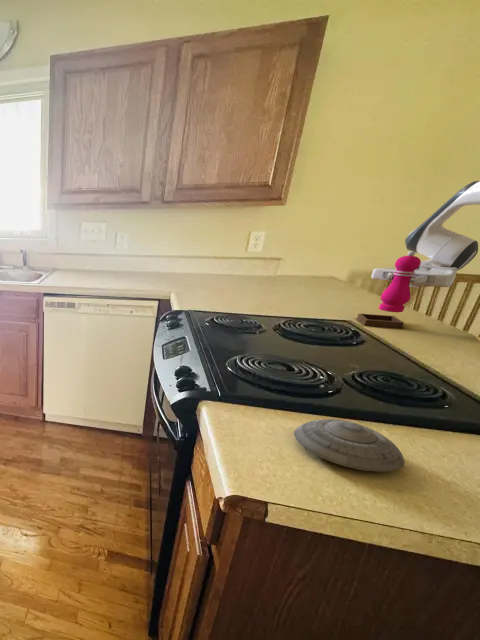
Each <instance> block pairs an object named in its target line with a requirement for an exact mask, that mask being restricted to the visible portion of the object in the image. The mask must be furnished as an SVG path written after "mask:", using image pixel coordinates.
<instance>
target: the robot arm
mask: <svg viewBox="0 0 480 640" xmlns="http://www.w3.org/2000/svg"><path fill="white" fill-rule="evenodd" d="M473 205H477V206H478V205H480V180H474V181H472V182H470V183H468V184H467V185H465V186H464V187H462V188H461V189H459V190H458V191H457V192H456V193H454V195H452V196H451V197H450V198H449V199H448V200H447V201H445V203H443V204H442V205H441V206H440V207H439V208H437V210H436V211H434V212H433V213H432V214H431V215H430V216H429V217H428V218H427V219H426V220H424V221H423V222H422V223H421V224H419V226H417V227H416V228H414V229H413V230H412V231H411V232H410V233H409V234H407V236H406V237H405V239H404V244H405V248H406V250H407V251H414V252H415V254H420V255H421V256H424V257H426V258H428V259H425V260H420V261H421V264H420V266H419V267H418V268H417V269H416V270H414V271H415V273H414V276H412V277H411V279H410V283H409V288H410V287H411V288H415V289H416V288H417V289H418V288H429V287H430V288H431V287H434V288H435V287H436V288H450V287H452V285H453V283H454V281H455V280H456V277H457V273H458V271H460V270H462V269H463V268H464V267H466V266H467V265H468V264H469V263H470V262H471V261H472V260H473V259H474V258H475V257H476V256H477V254H478V252H479V242H478V241H477V240H476V239H473V238H471V237H468V236H466V235H463V234H460V233H457V232H455V231H453V230H450V229H447V228H445V227H444V223H445V222H447V221H448V220H449V219H451V217H452V216H453V215H455V213H457V212H459V210H461V209H462V208H463V207H465V206H473ZM395 270H397V269H396V267H377V268H374V269H373V270H372V273H371V275H370V277H371V278H370V279H372V280H380V281H388V282H392V281H393V279H394V276H395V275H394V274H393V273H394V272H395Z"/></svg>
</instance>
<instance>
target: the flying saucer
mask: <svg viewBox="0 0 480 640" xmlns="http://www.w3.org/2000/svg"><path fill="white" fill-rule="evenodd" d="M293 436H294V438H295V440H296V442H298V444H299V445H300V446H302V447H303V448H304V449H306V450H307V451H308V452H310V453H312V454H314V455H315V456H316V457H319V458H321V459H322V460H325V461H329V462H331V463H333V464H336V465H339V466H343V467H346V468H351V469H355V470H358V471H359V470H360V471H365V472H375V473H376V472H378V473H380V472H381V473H383V472H393V471H397V470H399V469H401V468H402V467H404V466H405V462H406V461H405V460H406V459H405V458H404V455H403V453H402V452H401V450H400V449H399V448H398V446H397V445H396V444H395V442H393V441H392V440H390V439H389V438H388V437H387V436H385V435H383V434H381V433H380V432H378V431H376V430H374V429H372V428H370V427H368V426H364V425H362V424H359V423H356V422H352V421H347V420H342V419H333V418H332V419H329V418H328V419H324V418H323V419H315V420H310V421H308V422H305V423H303V424H301V425H299V426H298V427H296V428H295V429H294V432H293Z"/></svg>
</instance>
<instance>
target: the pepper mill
mask: <svg viewBox="0 0 480 640" xmlns="http://www.w3.org/2000/svg"><path fill="white" fill-rule="evenodd" d="M415 255H416V252H414V251H410V250H408V252H407V255H403V256H400V257H399V258H397V259H396V261H395V262H394V268H396V269H397V270H395V272H394V273H393V274H394V275H395V276H394V279H393V281H391V283H389V285H388V286H387V288H385V289H384V291H383V292H382V294H381V295H380V300H381V301H382V302H381V303H379V306H378V310H380V311H382V312H389V313H403V312H404V311H405V304H407V303H409V301H410V300H411V289H410V287H409V283H410V279H411V277H412V276H414V273H415V271H414V270H416V269H417V268H418V267H419V266H420V264H421V261H422V260H421V259H420V258H419V257H418V256H415Z"/></svg>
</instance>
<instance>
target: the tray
mask: <svg viewBox="0 0 480 640" xmlns="http://www.w3.org/2000/svg"><path fill="white" fill-rule="evenodd" d="M356 320H357V321H358V322H359V323H361V324H362V325H363V326H365V327H376V328H377V327H378V328H388V329H389V328H390V329H391V328H392V329H403V328H404V324H405V322H404V321H402V320H401V319H399V318H398V317H396V316H395V315H389V314H388V315H386V314H370V313H358V314H357V317H356Z"/></svg>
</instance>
